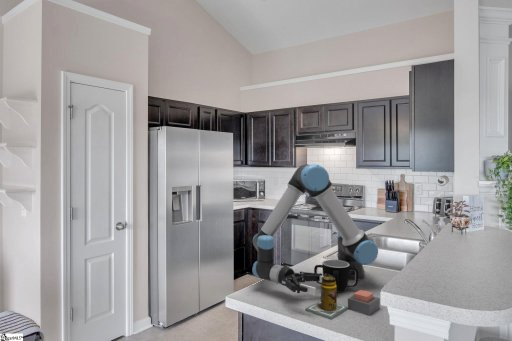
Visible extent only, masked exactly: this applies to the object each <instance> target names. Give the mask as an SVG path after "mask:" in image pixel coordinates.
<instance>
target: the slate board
mask: <svg viewBox="0 0 512 341" xmlns="http://www.w3.org/2000/svg"><path fill="white" fill-rule="evenodd" d="M316 303H321V300H318V301H317V302H316ZM337 308H338V312H327V311H316V307H315V303H313V304H312V305H309V306H307V307H306V308H305V311H306V312H309V313H312V314H315V315H317V316H319V317H323V318H326V319H329V320H333V319H334V318H336V317H338V316H340V315H341V314H342V313H344V312H346V311H348V310H349V309H348V305H347V306H346V305H343V304H340V303H337Z"/></svg>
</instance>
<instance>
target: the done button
mask: <svg viewBox="0 0 512 341" xmlns="http://www.w3.org/2000/svg"><path fill="white" fill-rule="evenodd" d="M353 294H354V299H356V300H360V301H363V302H367V303H368V302H370V301H371V300H373V296H374V293H373V292H371V291H370V292H369V291H367V290H363V289H360V290H358V291H356V292H354V293H353Z"/></svg>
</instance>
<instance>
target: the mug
mask: <svg viewBox="0 0 512 341" xmlns="http://www.w3.org/2000/svg"><path fill="white" fill-rule="evenodd" d="M321 263H322V264H316V265H315V266H314V267H313V273H318V268H320V269H321V268H322V276H332V277H334V278H335V279H336V286H337V293H342V292H346V290H347V288H354V287H356V286H357V284H358V283H359V280H358V270H357V268H353V267H350V264H349V263H347V262H345V261H341V260H338V259H326V260H324V261H323V262H321ZM350 270H354V271H355V280H353V281H354V282H353V283H349V281H350V280H349V272H350ZM315 283H317V284H319V285H321V284H322V283H320V281H315Z"/></svg>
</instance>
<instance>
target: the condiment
mask: <svg viewBox="0 0 512 341" xmlns="http://www.w3.org/2000/svg"><path fill="white" fill-rule="evenodd" d="M337 293H338V292H337V286H336V279H335V278H334V277H332V276H324V277H322V284H320V301H321V303H317V302H315V303H314V304H315V307H316V311H327V312H338V308H337V304H338V301H337V299H338V297H337V296H338V295H337Z"/></svg>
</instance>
